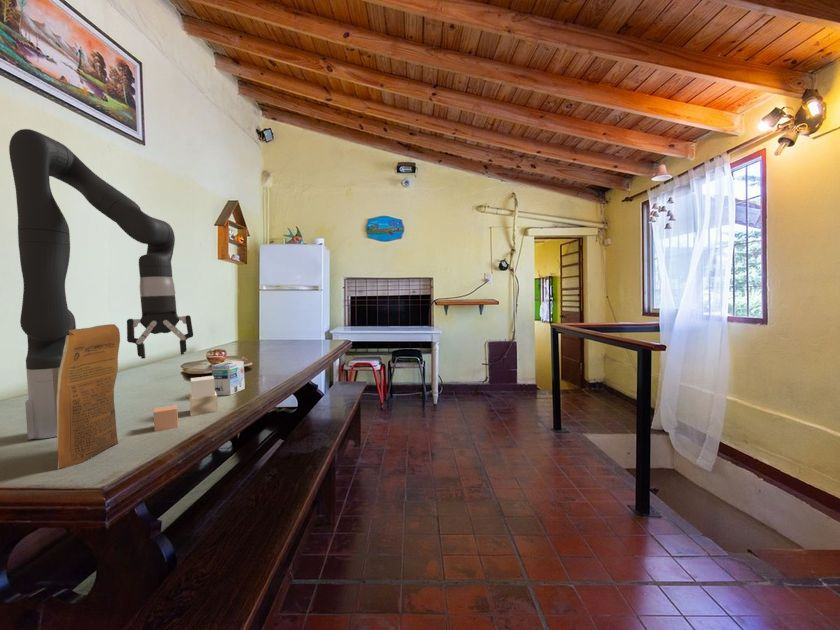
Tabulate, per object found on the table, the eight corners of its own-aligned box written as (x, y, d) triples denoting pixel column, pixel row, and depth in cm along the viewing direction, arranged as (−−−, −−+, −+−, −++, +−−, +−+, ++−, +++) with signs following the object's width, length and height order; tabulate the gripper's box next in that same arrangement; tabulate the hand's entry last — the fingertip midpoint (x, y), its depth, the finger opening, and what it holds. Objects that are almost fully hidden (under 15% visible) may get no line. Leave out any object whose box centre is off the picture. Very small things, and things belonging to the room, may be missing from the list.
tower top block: (191, 398, 109) (190, 381, 109) (191, 394, 114) (190, 378, 114) (215, 395, 113) (214, 378, 112) (213, 391, 118) (213, 375, 117)
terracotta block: (154, 431, 96) (153, 412, 96) (155, 426, 100) (154, 407, 100) (177, 427, 99) (176, 408, 99) (178, 422, 103) (177, 404, 103)
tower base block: (190, 416, 109) (189, 399, 109) (190, 410, 115) (189, 394, 115) (217, 412, 113) (217, 395, 112) (216, 406, 118) (215, 391, 118)
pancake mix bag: (137, 436, 93) (131, 323, 92) (77, 470, 74) (68, 328, 73) (107, 438, 92) (100, 324, 91) (38, 473, 73) (29, 329, 72)
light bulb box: (230, 395, 132) (229, 365, 132) (212, 396, 133) (210, 365, 132) (245, 388, 143) (244, 360, 143) (228, 388, 143) (226, 360, 143)
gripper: (121, 295, 92) (127, 361, 92) (189, 293, 99) (194, 354, 100) (126, 296, 98) (131, 358, 99) (189, 294, 105) (194, 351, 106)
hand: (163, 356), depth 99 cm, fingers open, 8 cm apart
